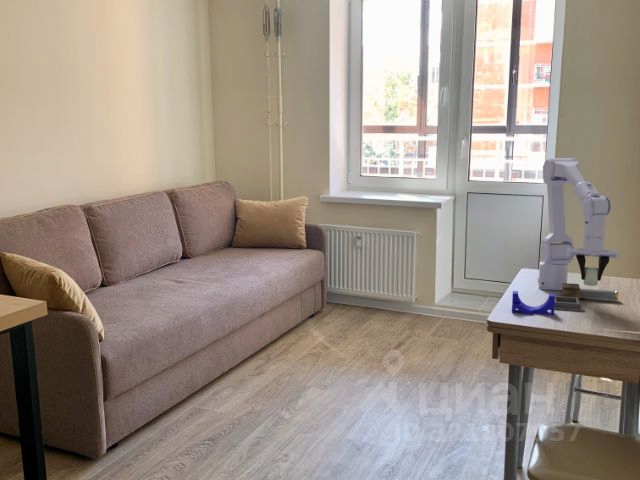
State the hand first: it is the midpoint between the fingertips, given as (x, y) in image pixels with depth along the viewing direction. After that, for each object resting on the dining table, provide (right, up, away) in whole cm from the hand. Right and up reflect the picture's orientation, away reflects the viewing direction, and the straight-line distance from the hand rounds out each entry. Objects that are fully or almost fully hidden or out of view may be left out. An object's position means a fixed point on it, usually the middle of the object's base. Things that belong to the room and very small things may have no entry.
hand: (590, 279), depth 207 cm
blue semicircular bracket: (-20, -10, -6) cm, 23 cm away
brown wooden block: (-3, -7, +10) cm, 12 cm away
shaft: (+4, -7, +8) cm, 12 cm away
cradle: (-7, -8, +1) cm, 11 cm away
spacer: (0, -1, 0) cm, 2 cm away
